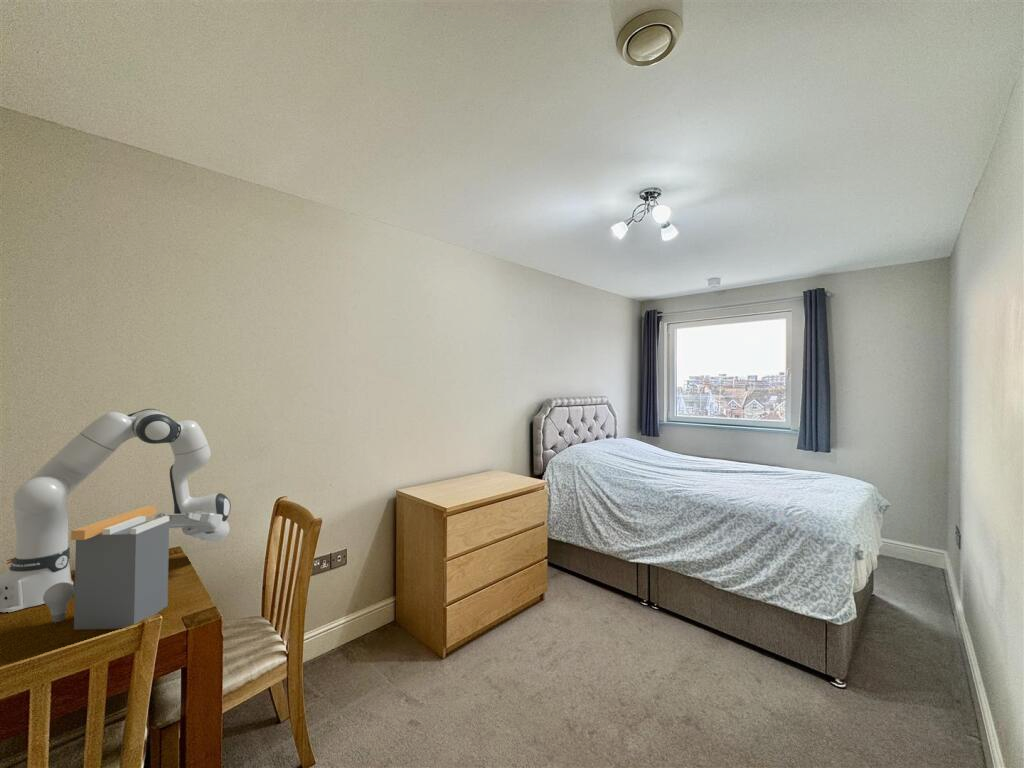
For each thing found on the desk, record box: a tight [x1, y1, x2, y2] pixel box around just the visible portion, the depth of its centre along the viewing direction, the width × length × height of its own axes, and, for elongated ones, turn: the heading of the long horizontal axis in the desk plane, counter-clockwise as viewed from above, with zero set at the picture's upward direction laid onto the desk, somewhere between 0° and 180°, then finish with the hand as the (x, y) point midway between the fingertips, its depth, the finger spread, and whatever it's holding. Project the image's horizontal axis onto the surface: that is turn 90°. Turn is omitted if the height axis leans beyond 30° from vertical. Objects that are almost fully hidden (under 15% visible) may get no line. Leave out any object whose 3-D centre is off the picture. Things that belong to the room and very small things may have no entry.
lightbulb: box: [43, 582, 75, 623], centre depth 119 cm, size 6×6×11 cm
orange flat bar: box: [70, 505, 158, 541], centre depth 124 cm, size 4×24×2 cm, turn 3°
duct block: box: [73, 516, 170, 630], centre depth 122 cm, size 16×12×28 cm
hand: (173, 515), depth 145 cm, fingers open, 8 cm apart
